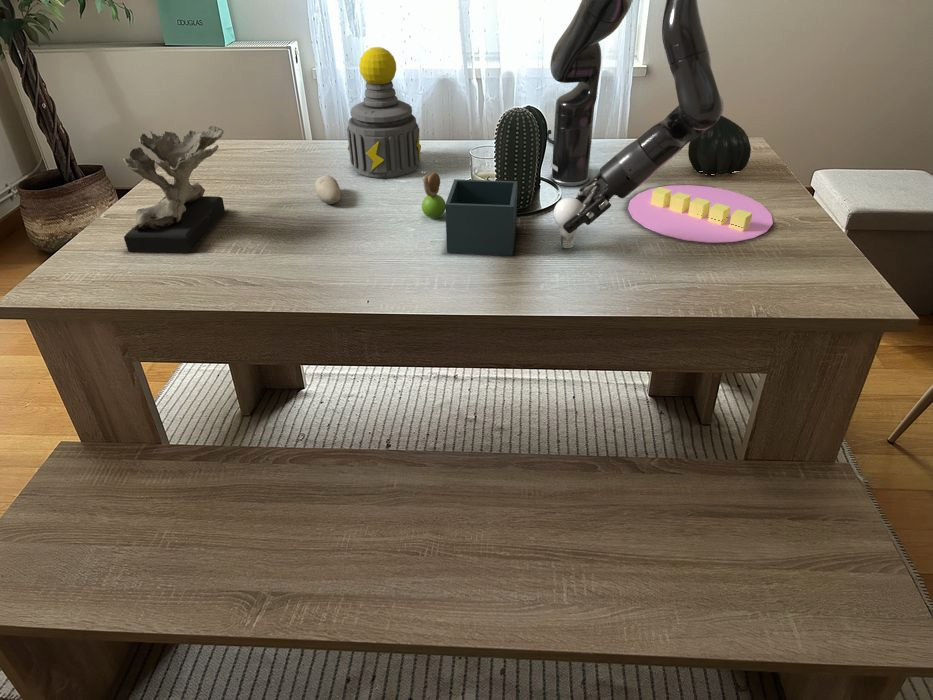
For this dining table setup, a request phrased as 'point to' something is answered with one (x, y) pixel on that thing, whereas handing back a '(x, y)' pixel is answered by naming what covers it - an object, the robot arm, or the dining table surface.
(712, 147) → the squash
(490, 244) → the trash bin
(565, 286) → the dining table surface
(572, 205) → the lightbulb
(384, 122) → the decorative lamp
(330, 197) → the stone
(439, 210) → the green ball figurine
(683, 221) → the platter
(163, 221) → the coral
